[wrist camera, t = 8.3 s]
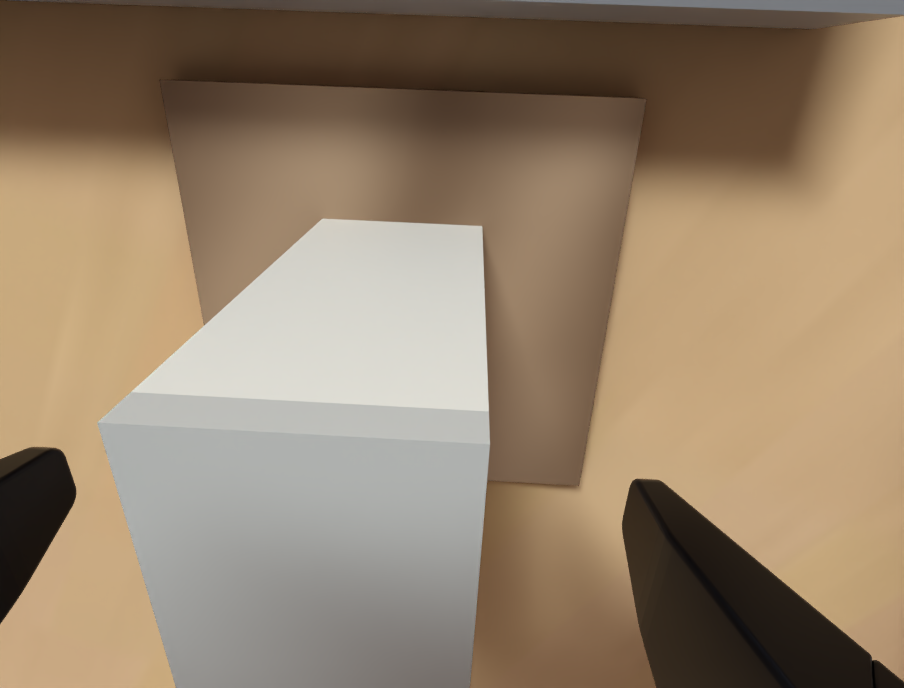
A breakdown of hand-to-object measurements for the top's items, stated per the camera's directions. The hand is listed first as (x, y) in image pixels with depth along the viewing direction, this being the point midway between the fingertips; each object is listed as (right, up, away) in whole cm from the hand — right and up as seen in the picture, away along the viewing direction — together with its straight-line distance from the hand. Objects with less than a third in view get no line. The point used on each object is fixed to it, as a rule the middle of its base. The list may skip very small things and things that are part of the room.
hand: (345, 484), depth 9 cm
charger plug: (0, +3, +6) cm, 7 cm away
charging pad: (0, +3, +7) cm, 7 cm away
